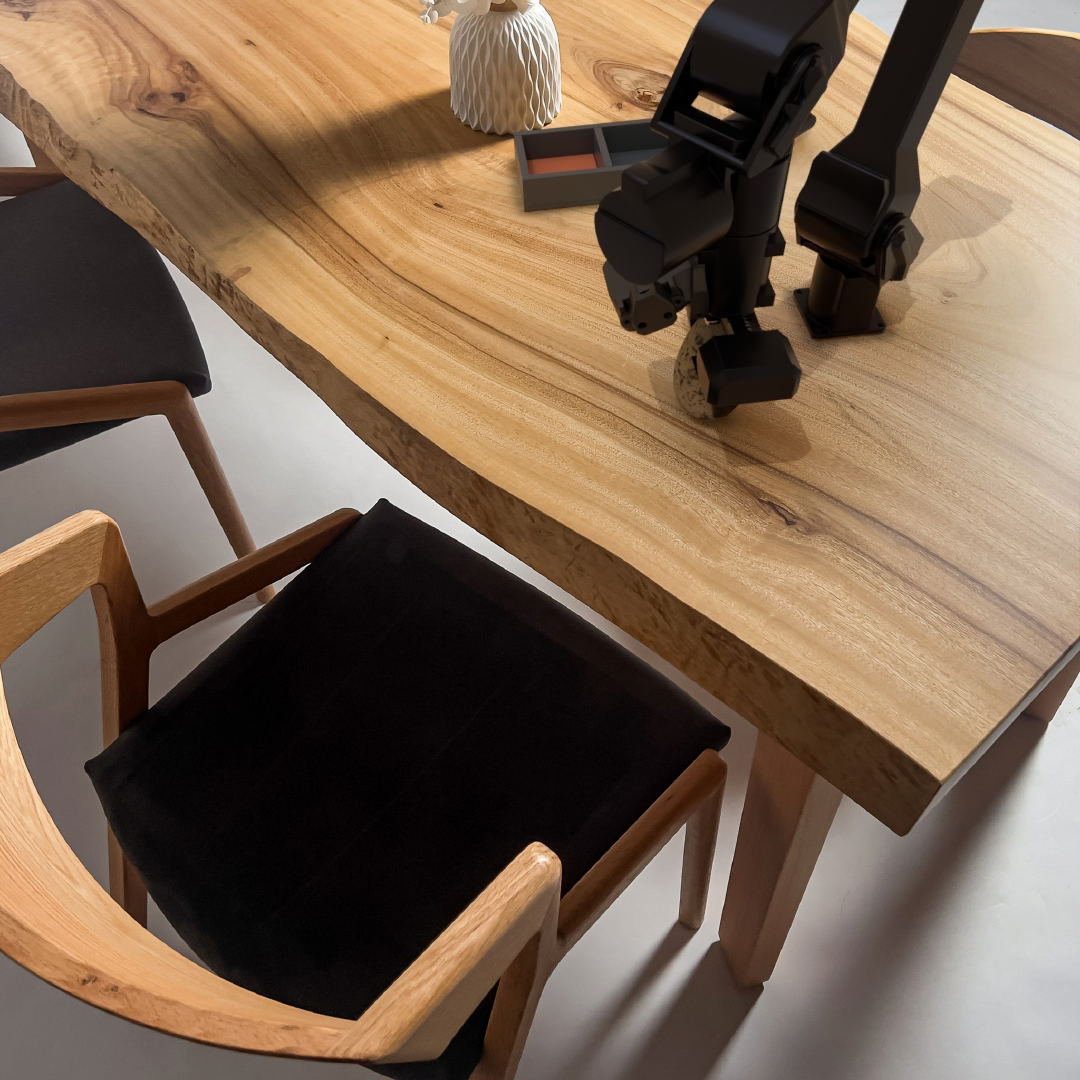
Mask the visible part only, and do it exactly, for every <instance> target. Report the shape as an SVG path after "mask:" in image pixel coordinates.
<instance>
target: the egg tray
mask: <svg viewBox="0 0 1080 1080" xmlns="http://www.w3.org/2000/svg"><path fill="white" fill-rule="evenodd" d="M652 118H653V117H650V118H640V119H639V118H638V119H631V120H630V119H629V120H619V121H610V122H600V123H599V122H598V123H589V124H588V123H587V124H580V125H579V124H577V125H571V126H569V125H568V126H559V127H549V128H538V129H530V130H529V129H528V130H518V131H513V146H514V147H513V150H514V162H515V169H516V174H517V179H518V184H519V190H520V195H521V200H522V206H523V211H524V212H533V211H542V210H551V209H552V210H553V209H561V208H562V209H563V208H572V207H580V206H581V207H582V206H591V205H599V204H600V202H601V200H602V199H603V197H604V196H605V195H607V194H608V193H610V192H611V191H613V190H615V189H617V188H618V187H620V186H621V174H622V172H623V171H624V170H625V169H626V168H628V167H630V166H632V165H634V164H635V163H638V162H641V161H645V160H648V159H650V158H652V157H653V156H655V155H657V154H659V153H661V152H662V151H664V150H666V149H667V147H668V138H667V137H665V136H663V135H661V134H659V133H657V132H655V131H653V130H651V129H650V122H651V120H652Z"/></svg>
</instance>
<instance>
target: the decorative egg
mask: <svg viewBox="0 0 1080 1080" xmlns="http://www.w3.org/2000/svg"><path fill="white" fill-rule="evenodd" d="M719 335H725V333H724V331H723V328H722V325H721V323H720V324H717V325H707V324H706V322H705V319H704V318H701V319H698V320H697V321H696V322H695V323H694V325H693V326H692V327H691V329H690V330H688V332H687V334H686V336H685V338H684V339H683V341H682V343H681V345H680V348H679V350H678V352H677V356H676V357H675V358H676V359H675V363H674V367H673V373H672V382H673V391H674V394H675V398H676V399H677V401H678V403H679V404H680V407H682V409H683V410H684V411H685V412H686V413H688V414H689V415H691V416H692V417H694V418H696V419H699V420H703V421H716V420H721V419H724V418H725V417H722V418H714V417H713V415H712V408H711V404H709V403H707V402H706V399H705V396H704V393H703V390H702V387H701V384H700V381H699V380H698V377H697V374H696V371H695V368H694V365H693V362H692V359H691V356H697V354H698V348H699V347H700V346H702V345H703V344H704V343H705V342H706V341H708V340H709V339H710V338H711V337H713V336H719ZM740 406H741V405H738V406H737V407H736V408H735V409H734V410H733V411H732V412H731V413H730V414H729V415H731V414H733V413H734V412H735V411H736V410H738V408H739V407H740Z"/></svg>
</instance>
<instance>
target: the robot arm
mask: <svg viewBox="0 0 1080 1080" xmlns="http://www.w3.org/2000/svg"><path fill="white" fill-rule="evenodd" d="M859 2H860V0H713V1H711V3H710V4H709V5H708V6H707V7H706V8H705V10H704V11H703V13H702V14H701V16H700V17H699V19H698V20H697V22H696V24H695V25H694V28H693V29H692V32H691V33H690V35H689V38H688V39H687V42H686V44H685V46H684V48H683V51H682V53H681V55H680V57H679V59H678V62H677V64H676V66H675V68H674V70H673V72H672V74H671V77H670V78H669V81H668V83H667V85H666V88H665V89H664V92H663V94H662V96H661V98H660V100H659V103H658V105H657V107H656V109H655V111H654V114H653V115H652V117H651V118H652V120H651V122H650V129H651V130H653V131H655V132H657V133H659V134H661V135H663V136H665V137H667V138H668V147H667V149H666V150H664V151H662V152H661V153H659V154H657V155H655V156H653V157H652V158H650V159H648V160H645V161H641V162H638V163H635V164H634V165H632V166H630V167H628V168H626V169H625V170H624V171H623V172H622V174H621V186H620V187H618V188H617V189H615V190H613V191H611V192H610V193H608V194H607V195H605V196H604V197H603V199H602V200H601V202H600V204H598V207H597V211H595V212H594V217H593V223H594V224H593V225H594V232H595V237H596V241H597V244H598V246H599V247H600V250H601V253H602V254H603V257H604V258H605V261H604V263H603V265H602V267H601V268H602V274H603V278H604V281H605V286H606V289H607V294H608V296H609V299H610V301H611V303H612V305H613V308H614V311H615V313H616V314H617V317H618V320H619V324H620V326H621V328H622V329H624V330H625V331H627V332H628V333H629V332H630V333H632V332H634V333H635V332H636V334H637V335H640V336H644V337H645V336H648V335H651V334H654V333H656V332H659V331H662V330H664V329H666V328H669V327H672V326H673V325H675V323H676V322H677V320H678V313H680V312H681V311H683V310H684V309H685V312H686V317H687V323H688V329H689V330H690V329H691V327H692V326H693V325H694V323H695V322H696V321H697V320H698V319H701V318H704V319H705V322H706V324H707V325H717V324H720V323H721V325H722V328H723V331H724V333H725V335H719V336H713V337H711V338H710V339H709V340H708V341H706V342H705V343H704V344H703V345H702V346H700V347H699V348H698V354H697V356H691V359H692V362H693V365H694V368H695V371H696V374H697V377H698V380H699V381H700V384H701V387H702V390H703V393H704V396H705V399H706V402H707V403H709V404H711V408H712V415H713V417H714V418H721V419H723V418H722V417H724V418H726V417H729V415H731V414H732V413H733V412H732V411H733V410H734V409H735V408H736V407H737V406H738V405H740V406H741V405H747V404H748V405H749V404H758V403H767V402H776V401H785V400H791V399H793V398H794V397H795V395H796V394H797V393H798V391H799V387H800V382H801V379H802V375H803V370H802V367H801V365H800V363H799V360H798V358H797V355H796V353H795V351H794V348H793V346H792V344H791V341H790V339H789V337H787V336H786V335H785V334H784V333H783V332H781V331H780V330H779V329H778V328H775V329H766V330H765V329H763V328H762V327H761V324H760V322H759V319H758V317H757V314H756V312H755V309H760V308H769V307H770V308H771V307H775V306H774V305H775V302H776V301H775V299H776V295H777V293H776V291H775V289H774V286H773V285H772V282H771V280H770V278H769V277H770V272H771V268H772V267H771V266H772V262H773V258H774V257H783V256H784V255H785V250H786V246H787V241H786V238H785V237H784V235H783V233H782V230H781V229H780V227H779V224H780V219H781V213H782V209H783V204H784V198H785V195H786V190H787V189H786V187H787V182H788V178H789V173H790V167H791V161H792V157H793V150H794V146H795V139H796V138H798V137H800V136H801V135H803V134H804V133H806V132H808V131H809V130H811V129H812V128H814V126H815V125H816V124H817V116H816V115H815V114H814V113H812V111H813V109H814V108H815V106H816V105H817V104H818V102H819V101H820V99H821V98H822V96H823V94H825V93H826V91H827V89H828V84H829V81H830V79H831V77H832V76H833V74H834V72H835V71H836V69H837V68H838V67H839V65H840V64H841V62H842V60H843V59H844V57H845V53H846V46H847V39H848V30H849V22H850V17H851V14H852V13H853V11H854V10H855V8H856V7H857V5H858V4H859ZM984 2H985V0H905V3H904V5H903V8H902V10H901V12H900V15H899V17H898V19H897V22H896V23H895V24H896V25H895V27H894V29H893V31H892V32H893V33H891V37H890V39H889V42H888V43H887V46H886V48H885V51H884V54H883V56H882V59H881V61H880V64H879V66H878V68H877V71H876V73H875V76H874V78H873V81H872V83H871V85H870V88H869V91H868V94H867V95H866V98H865V100H864V103H863V105H862V107H861V110H860V113H859V115H858V118H857V119H856V122H855V124H854V126H853V128H852V130H851V131H850V132H849V133H848V134H847V135H845V137H844V138H842V139H841V140H840V141H839V142H837V143H836V144H835V145H834V146H833V147H832V148H830V149H829V150H828V151H827V150H821V151H819V152H818V154H816V156H815V157H814V158H813V159H812V161H811V165H810V168H809V171H808V174H807V177H806V180H805V182H804V184H803V185H802V187H801V189H800V190H799V192H798V195H797V197H796V200H795V202H794V207H793V208H794V209H793V214H794V215H793V223H794V229H795V231H794V232H795V243H796V245H798V246H800V247H805V249H809V250H810V251H812V252H814V253H816V254H817V255H816V259H815V263H814V268H813V273H812V276H811V280H810V285H809V287H800V288H795V289H794V290H793V292H792V298H793V300H794V302H795V305H796V307H797V309H798V311H799V313H800V316H801V318H802V320H803V322H804V324H805V327H806V329H807V331H808V334H809V335H810V337H811V339H813V340H815V341H816V340H817V341H819V340H827V339H836V338H846V337H853V336H854V337H855V336H864V335H873V334H882V333H884V332H885V331H886V328H887V324H886V322H885V321H884V317H882V314H881V313H880V311H879V310H878V307H877V303H878V299H879V297H880V294H881V290H882V287H883V286H884V285H886V284H887V283H888V282H891V283H892V282H902V281H904V280H905V279H906V278H907V276H908V273H909V270H910V267H911V265H912V264H913V263H914V262H915V260H916V259H917V258H918V256H919V254H920V252H919V251H920V250H921V247H922V246H923V243H924V241H925V238H924V236H923V235H922V233H921V232H920V230H919V229H918V227H917V226H916V225H915V223H914V222H913V220H912V219H911V217H912V215H913V212H914V209H915V207H916V205H917V202H918V200H919V197H920V195H921V192H922V185H921V173H920V163H919V162H920V161H919V152H918V151H919V150H918V148H919V146H920V143H921V140H922V138H923V136H924V134H925V132H926V129H927V127H928V125H929V123H930V121H931V119H932V116H933V115H934V111H935V109H936V107H937V105H938V103H939V101H940V98H941V96H942V95H943V92H944V90H945V88H946V86H947V83H948V81H949V79H950V77H951V74H952V72H953V70H954V68H955V66H956V64H957V61H958V59H959V57H960V54H961V53H962V50H963V48H964V46H965V44H966V42H967V40H968V38H969V35H970V32H971V31H972V28H973V26H974V24H975V22H976V20H977V18H978V15H979V13H980V11H981V9H982V7H983V4H984ZM698 96H699V97H702V98H703V99H706V100H708V101H710V102H713V103H715V104H717V105H719V106H722V107H723V108H725V109H728V110H730V111H732V113H731V114H728V115H727V116H725V117H723V118H722V119H721V118H719V117H716V116H714V115H712V114H710V113H708V112H705V111H704V110H701V109H700V108H697V107H695V106H693V104H694V102H695V101H696V100H697V98H698ZM689 330H688V331H689ZM731 412H732V413H731ZM730 413H731V414H730Z"/></svg>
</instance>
